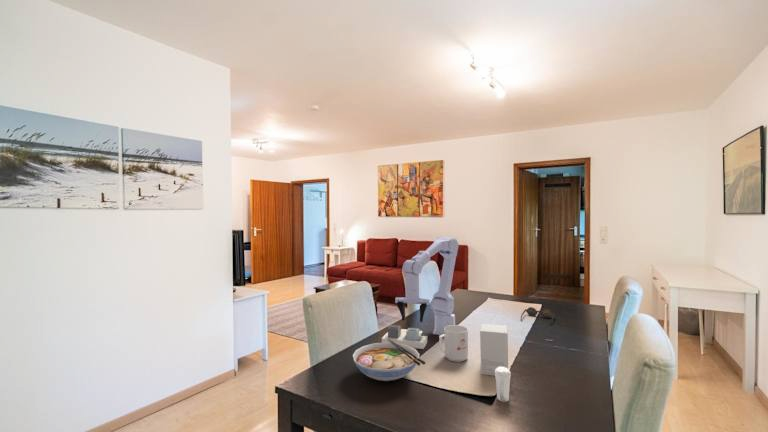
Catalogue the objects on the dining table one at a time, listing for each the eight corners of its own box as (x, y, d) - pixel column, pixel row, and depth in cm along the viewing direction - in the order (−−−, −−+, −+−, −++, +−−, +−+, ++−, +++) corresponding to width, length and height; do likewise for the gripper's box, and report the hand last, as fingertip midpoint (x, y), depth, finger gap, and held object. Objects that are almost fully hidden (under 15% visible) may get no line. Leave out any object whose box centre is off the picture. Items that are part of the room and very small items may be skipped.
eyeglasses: (554, 319, 180) (554, 309, 180) (551, 327, 168) (551, 317, 168) (524, 315, 188) (524, 306, 188) (519, 322, 175) (519, 312, 175)
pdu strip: (427, 342, 148) (427, 326, 148) (423, 349, 140) (423, 332, 140) (387, 337, 153) (387, 322, 153) (381, 344, 146) (381, 328, 146)
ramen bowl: (343, 367, 124) (342, 344, 124) (400, 356, 133) (400, 335, 133) (367, 401, 101) (367, 373, 101) (434, 386, 110) (434, 360, 110)
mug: (457, 351, 138) (457, 323, 137) (473, 359, 130) (472, 330, 130) (433, 357, 132) (432, 328, 132) (447, 366, 124) (447, 335, 124)
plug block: (419, 342, 148) (418, 327, 148) (417, 346, 143) (416, 331, 143) (408, 341, 149) (408, 327, 149) (406, 345, 145) (406, 330, 145)
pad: (422, 332, 161) (422, 330, 161) (417, 339, 151) (417, 338, 151) (401, 329, 164) (401, 328, 164) (396, 337, 154) (396, 336, 154)
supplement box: (508, 367, 123) (507, 325, 123) (508, 378, 115) (508, 333, 115) (481, 363, 126) (481, 322, 126) (480, 374, 118) (479, 330, 118)
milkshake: (489, 395, 104) (489, 362, 104) (506, 394, 104) (506, 361, 104) (495, 403, 99) (495, 369, 99) (513, 402, 100) (513, 368, 100)
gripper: (393, 289, 144) (393, 321, 144) (427, 291, 140) (427, 325, 140) (397, 286, 151) (397, 317, 151) (430, 288, 147) (430, 319, 147)
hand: (412, 320), depth 146 cm, fingers open, 7 cm apart
